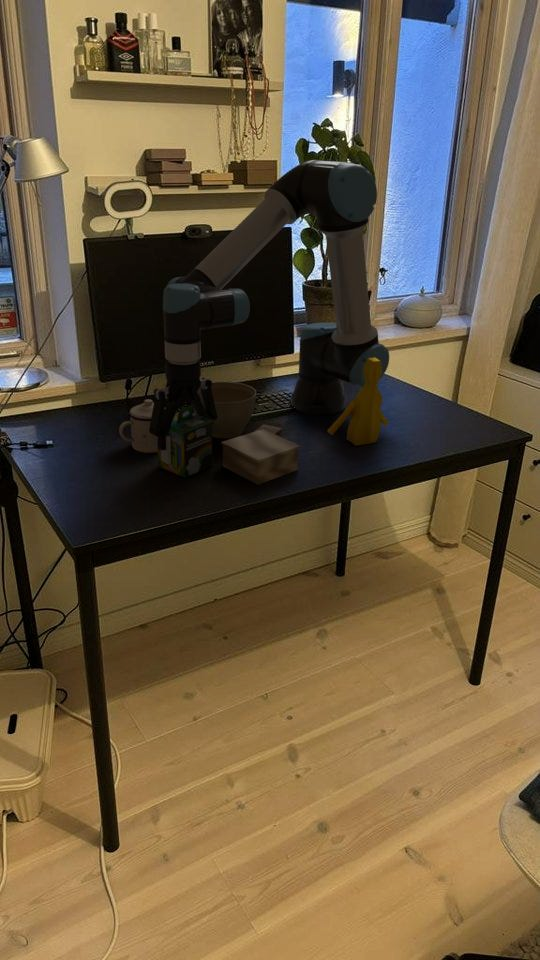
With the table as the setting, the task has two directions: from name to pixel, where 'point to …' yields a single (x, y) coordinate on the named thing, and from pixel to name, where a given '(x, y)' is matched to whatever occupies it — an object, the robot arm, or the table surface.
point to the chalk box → (188, 443)
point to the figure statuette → (364, 408)
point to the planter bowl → (231, 408)
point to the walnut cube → (271, 429)
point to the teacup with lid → (141, 428)
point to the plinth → (260, 456)
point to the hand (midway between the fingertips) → (184, 456)
